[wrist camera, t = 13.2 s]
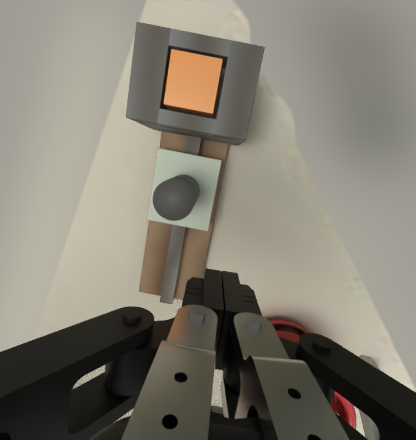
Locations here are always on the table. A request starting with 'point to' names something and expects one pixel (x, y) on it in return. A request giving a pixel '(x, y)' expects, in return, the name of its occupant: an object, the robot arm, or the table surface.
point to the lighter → (368, 424)
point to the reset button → (193, 83)
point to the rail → (187, 138)
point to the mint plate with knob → (183, 189)
